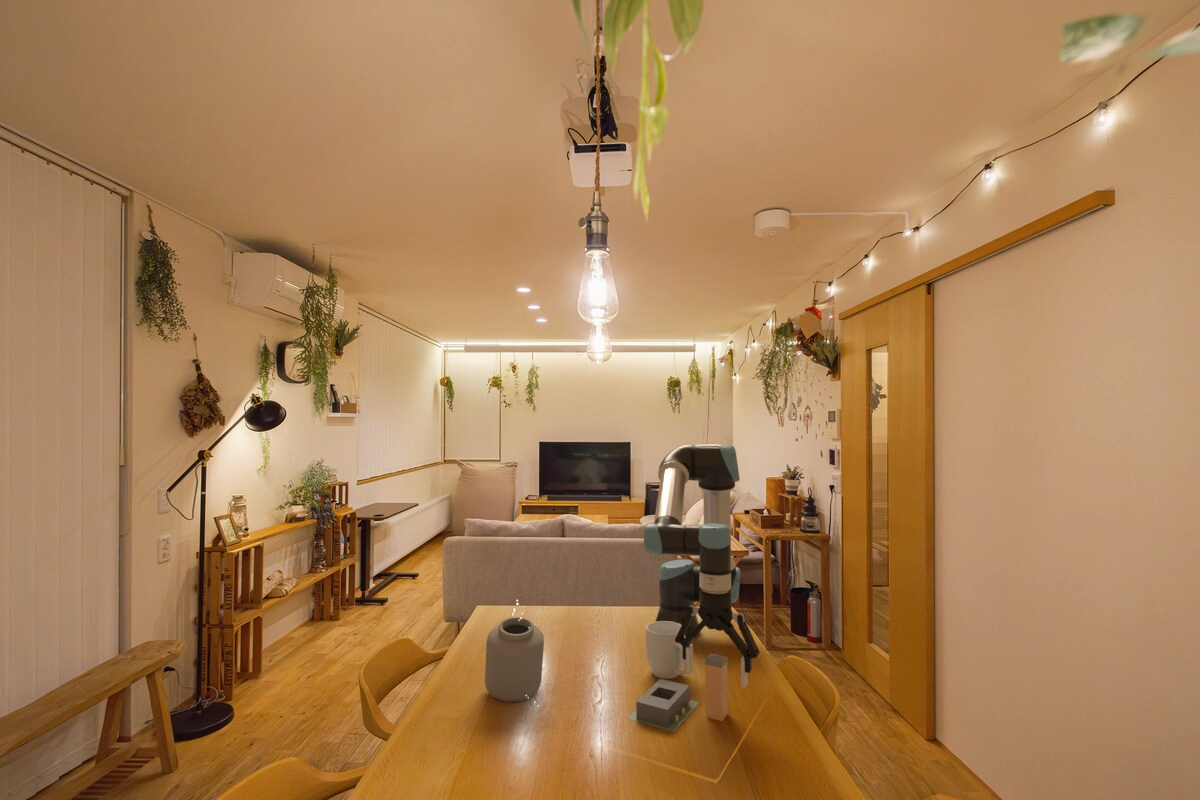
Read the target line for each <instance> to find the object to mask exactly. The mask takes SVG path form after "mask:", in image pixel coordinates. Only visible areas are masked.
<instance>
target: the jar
mask: <svg viewBox="0 0 1200 800" xmlns="http://www.w3.org/2000/svg"><path fill="white" fill-rule="evenodd" d="M516 605H517V606H519V600H518V599H516ZM515 612H516V608H513V612H512V614H511V615H512V617H508V618H505V619H502V621H500V623H499V624H498V625H496V626H494V627H493V628H492V629H491V630H490V631H489V633H488V635H487V638H486V650H485V666H484V667H485V669H484V686H485V688H486V691H487V692H488V693H489V695H491V696H492V697H494V698H495V699H497V700H499V701H502V702H507V703H514V702H521V701H525V700H527V699H529V698H531V697H533V696H534V695H535V694H536V693H537V692H538V691H539V689H540V687H541V683H542V677H543V675H542V673H543V662H544V661H543V660H544V650H545V649H544V647H545V638H544V637H545V636H544V634H543V632H542V631H541V630H540V628H539V627H538V626H536V625H534V623H533V622H532V621H531V620H530V619H528V618H525V617H521V616H520V617H519V616H514V613H515ZM521 615H524V613H523V612H522V613H521ZM535 703H536V701H534V704H535ZM539 706H540V705H537V707H539Z"/></svg>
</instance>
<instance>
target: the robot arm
mask: <svg viewBox="0 0 1200 800" xmlns="http://www.w3.org/2000/svg"><path fill="white" fill-rule="evenodd" d="M736 452H737V451H736V447H734V445H731V444H722V443H713V444H712V443H711V444H710V443H707V444H705V443H704V444H702V443H701V444H700V443H699V444H696V443H695V444H692V443H690V444H689V443H688V444H687V443H686V444H682V445H680V446H676V447H675V448H673V449H672V450H671V451H670V452H668V453H667V454H666V455H665V456H664V457H663V459H662V460H661V462H660V465H659V467H658V471H657V474H658V475H657V476H658V479H659V481H660V482H659V488H658V494H657V495H658V496H657V500H656V507H655V514H654V519H653V520H654V521H653V522H652V523H648V524H645V526H644V528H643V529H644V530H643V547H644V551H645V552H647V553H653V554H659V555H668V554H669V555H686V556H691V555H692V556H698V557H699V558H698V559H699V565H695V563H694V561H693V560H691V559H683V558H682V559H674V560H670V561H666V562H663V563H662V565H661V564H660V567H659V571H658V573H659V575H658V576H659V577H658V580H659V582H658V583H659V584H658V585H659V598H658V599H659V600H658V601H659V607H658V608H659V609H658V611H657V616H656V618H655V621H654V622H657V621H670V622H675V623H679V624H681V625H682V626H681V628H680V630H679V632H678V634H677V636H676V638H675V642H676V643H680V644H681V645H682V650H683V659H685V660H686V674H685V675H686V676H690V675H692V673H693V672H694V647H693V646H694V645H693V644H692V643H691V642H692V641H693V640H694V639H695V638H696V637H697V636H699V635H700V633H701V631H702V630H703V629H704V628H705V627H706V628H707V629H708V630H716V631H718V632H719V631H720V632H721V631H724V633H725V634H726V635H727V636H728V637H729V638H730V640H731V641H732V643H733V644H734V646H735V647H736V648H737V650H738V651H739V652H740V654H741V655H742V656H741V658H740V676H741V677H740V678H741V679H740V680H741V681H740V683H741V684H740V685H741V686H740V688H741V689H745V688H746V687H747V685H749V680H748V679H749V678H748V674H750V673H751V671H752V668H753V667H752V660H753V659H756V658H757V657H758V656H759V655H760V653H761V652H760V650H759V647H758V645H757V643H756V641H755V639H754V637H753V635H752V632H751V631H750V628H749V626H748V623H747V620H746V614H745V613H744V612H740V613H733V611H732V604H735V603H736V602H737V601H738V598H739V592H740V584H741V583H740V582H741V581H740V580H741V568H739V567H738V566H736V565H737V564H736V562H735V560H734V559H733V558H732V556H731V554H732V552H731V551H732V538H731V537H732V534H731V531H732V529H731V528H732V527H731V524H732V523H731V518H732V517H731V514H732V513H731V491H733V489H735V487H736V483H738V482H739V481H740V480H741V479H740V472H739V465H738V458H737V457H738V456H737V453H736ZM689 481H693V482H694V481H695V482H698V487H699V488H700V490H702V491H703V492H702V493H703V495H702V496H703V497H702V498H703V500H702V501H703V524H701V525H700V524H699V525H696V524H695V525H691V524H683V514H684V512H683V511H684V500H685V489H686V484H687V483H688V482H689ZM695 602H696V603H699V607H697V606H696V605H695ZM697 614H698V616H699V617H700V619H701V621H700V622H699V620H698V617H697ZM732 620H734V621H735V623H736V624H737V626H738V629H739V631H740V633H741V635H742V637H741V636H740V634H739V633H738V631H737V630H736V628H735V626H734V625H733V623H732ZM684 635H685V638H684ZM743 639H744V640H743Z"/></svg>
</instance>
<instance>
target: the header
mask: <svg viewBox="0 0 1200 800" xmlns="http://www.w3.org/2000/svg"><path fill="white" fill-rule="evenodd" d="M690 690H691V687H690V685H688V684H684V683H680V682H677V681H672V680H669V679H664V678H660V679H659V680H658V681H656V682H655V683H654V684H653V685H652V686H651V687H650V688H649V689H648V690H647V691H645V693H643V694H642V696H640V697H639V698H638V700H636V701H635V703H636V704H635V705H636V707H635V710H634V711H633V712H632V713H631V714H630V715H629V716H628V717H627V718H626V719H627V720H630V721H634V722H637V723H641V724H644V725H647V726H651V727H655V728H658V729H662V730H665V731H668V732H673V733H675V732H676V730H677V729H678V728H679V727H680V726H681V724H682V723H683V722H684V721H685V720H686V718H688V717H689V715H690V713H691V712H692V711H693V710H694V709H695V708H696V707H697V705H698V704H699V701H696V700H692V699H691V691H690Z"/></svg>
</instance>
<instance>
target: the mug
mask: <svg viewBox="0 0 1200 800" xmlns="http://www.w3.org/2000/svg"><path fill="white" fill-rule="evenodd" d="M681 626H682V625H681V624H679V623H675V622H670V621H657V622H655V621H653V622H650V623H647V625H646V626H645V646H646V647H645V649H646V657H647V661H648V664H649V668H650V670H651V672H652V674H653V675H654V676H655V677H656V678H660V679H664V680H669V679H675V678H677V677H678V676H682V675H686V660H685V659H683V650H682V645H681V644H680V643H676V642H675V638H676V636H677V634H678V632H679V630H680V628H681ZM684 638H685V635H684ZM683 666H684V667H683ZM682 669H683V670H682Z"/></svg>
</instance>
